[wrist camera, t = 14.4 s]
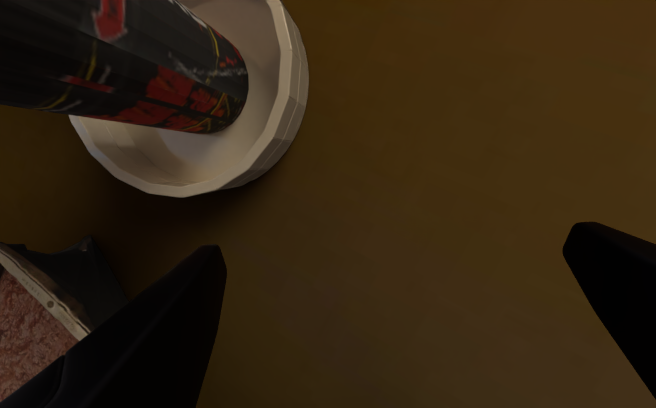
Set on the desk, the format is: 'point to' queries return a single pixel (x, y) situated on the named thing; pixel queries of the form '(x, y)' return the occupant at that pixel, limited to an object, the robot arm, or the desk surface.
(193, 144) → the pan
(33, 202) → the desk surface
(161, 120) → the deodorant
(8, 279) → the baking dish
